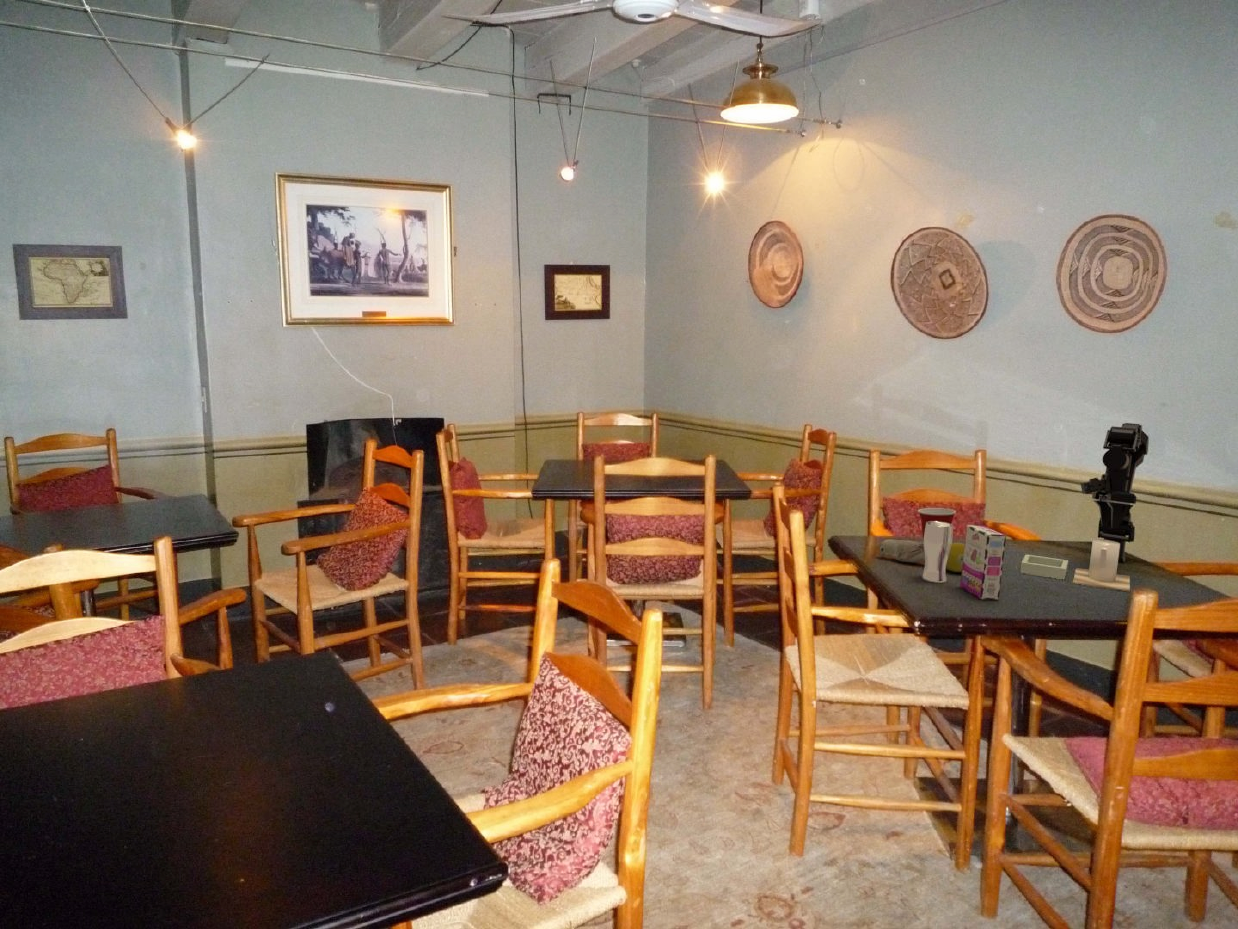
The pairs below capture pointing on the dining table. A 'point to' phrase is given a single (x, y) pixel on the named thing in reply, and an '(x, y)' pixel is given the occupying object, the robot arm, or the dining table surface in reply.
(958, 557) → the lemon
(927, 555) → the beer glass
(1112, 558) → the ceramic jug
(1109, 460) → the robot arm
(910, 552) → the decorative bird
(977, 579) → the candy bar box
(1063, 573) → the glass holder
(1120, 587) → the serving board
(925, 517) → the plastic cup
